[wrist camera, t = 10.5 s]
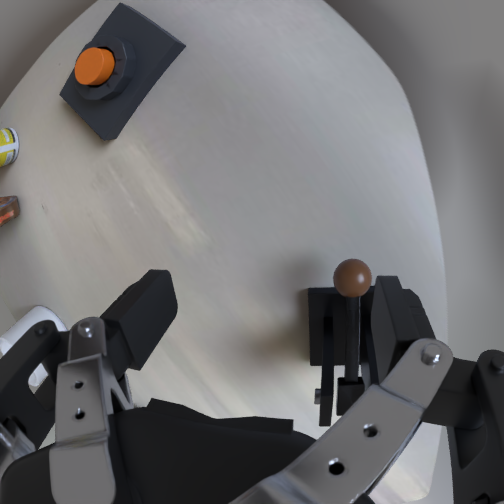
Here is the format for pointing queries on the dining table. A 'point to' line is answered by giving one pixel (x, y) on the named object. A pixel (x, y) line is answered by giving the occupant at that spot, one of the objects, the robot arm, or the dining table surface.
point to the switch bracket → (337, 342)
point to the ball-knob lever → (351, 329)
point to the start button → (94, 66)
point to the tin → (8, 209)
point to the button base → (122, 70)
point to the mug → (21, 327)
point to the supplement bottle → (8, 146)
